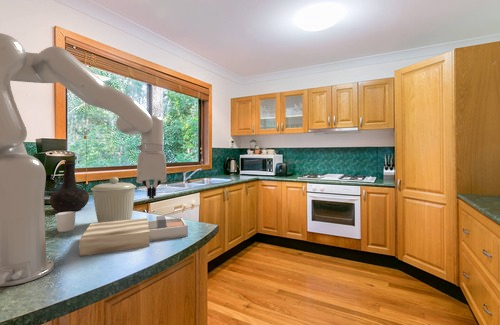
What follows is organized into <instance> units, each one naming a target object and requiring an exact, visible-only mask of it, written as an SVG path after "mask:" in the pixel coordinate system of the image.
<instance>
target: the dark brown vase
mask: <svg viewBox="0 0 500 325" xmlns="http://www.w3.org/2000/svg"><path fill="white" fill-rule="evenodd" d="M75 166H76V163H75V160H64V170H63V171H64V172H63V181H62V184H61V187H60V188H59V189H58V190H56V191H54V192H53V193H52V194H51V196H50V198H49V204H50V207H51V208H52V209H54V210H55V211H57V212H58V213H61V212H69V211H73V212H76V211H80V210H82V209H83V208H85V206H87V204H88V202H89V200H90V195H89V192H87V191H86V190H85V189H84V188H81V187H79V186H78V185H77V180H76V172H75Z"/></svg>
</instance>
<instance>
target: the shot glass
mask: <svg viewBox="0 0 500 325" xmlns="http://www.w3.org/2000/svg"><path fill="white" fill-rule="evenodd" d="M55 221H56V222H55V223H56V229H57V232H59V233H63V232H70V231H72V230H75V224H76V211H69V212H58V213H55Z"/></svg>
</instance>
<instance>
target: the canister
mask: <svg viewBox="0 0 500 325" xmlns="http://www.w3.org/2000/svg"><path fill="white" fill-rule="evenodd" d="M136 188H137V185H135V184H133V183H131V182H119V177H117V176H113V177H110V178H109V182H107V183H100V184H95V185H94V186H93V187H91V188H90V190H91V191H92V196H93V202H94V209H95V210H94V211H95V215H96V220H97V223H102V222H112V221H122V220H132V218H133V211H134V210H133V209H134V201H135V192H136V191H135V190H136Z"/></svg>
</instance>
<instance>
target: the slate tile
mask: <svg viewBox="0 0 500 325" xmlns="http://www.w3.org/2000/svg"><path fill="white" fill-rule="evenodd" d="M155 218H156V219H155V220H156V225H157V229H160V228H166V219H167V218H166V216H165V215H159V216H155Z"/></svg>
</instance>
